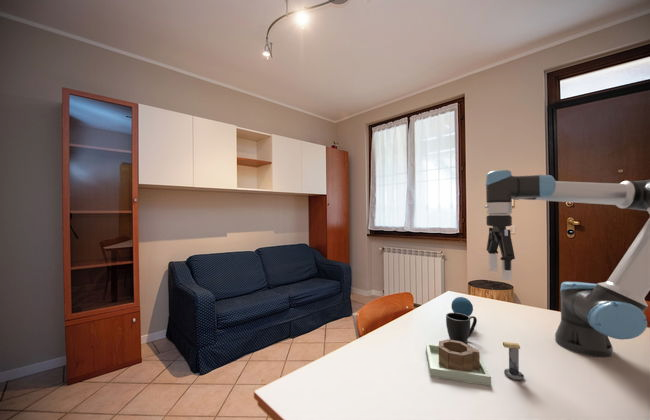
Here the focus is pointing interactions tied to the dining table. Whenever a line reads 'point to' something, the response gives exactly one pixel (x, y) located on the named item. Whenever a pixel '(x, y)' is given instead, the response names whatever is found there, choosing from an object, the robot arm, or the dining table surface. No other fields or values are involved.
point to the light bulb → (462, 306)
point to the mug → (459, 326)
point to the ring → (458, 356)
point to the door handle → (513, 362)
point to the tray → (441, 372)
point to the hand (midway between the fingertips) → (499, 275)
